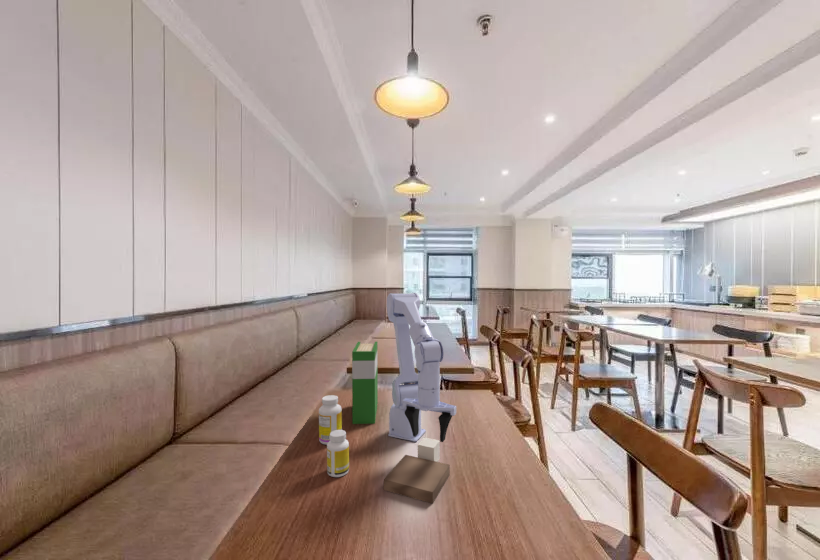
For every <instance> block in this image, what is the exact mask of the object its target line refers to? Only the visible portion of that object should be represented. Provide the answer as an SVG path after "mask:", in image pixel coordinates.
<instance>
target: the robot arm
mask: <svg viewBox="0 0 820 560" xmlns="http://www.w3.org/2000/svg"><path fill="white" fill-rule="evenodd" d="M420 307H421V299H420V296H419V294H418V293H416V292H412V293H411V292H410V293H404V292H403V293H391V292H390V293H388V295H387V298H386V313H387V317H388V321H390V322H391V323H393V328H394V333H395V334H394V336H395V343H396V353H397V359H398V360H397V362H398V368H399V375H397V376H396V377H395V378H394V379H393V380H392V382H391V383H392V384H391V398H392V402H393V404H392V405H391V407H390V410H389V417H388V419H389V420H388V421H389V422H388V430H389V431H388V435H387V436H388V437H391V438H396V439H402V440H404V441H405V440H406V441H411V442H418V441H419V440H420V438H421V437H422V436H423V435H424V434H425V433H426V429H425V428H422V411H423V412H428V411H429V412H435V413H441V414H440V415H438V422H439V430H440V431H439V440H440V443H444V441H445V440H446V436H447V431H448V428H449V425H450V423H451V422H450V421H451V419H452V417H453V416H455V415H456V414H457V405H455V404H454V405H453V404H449V403H446V402H444V401H440V400H441V398H440V397H441V395H440V394H441V393H440V391H441V389H440V387H441V386H440V385H441V382H440V381H441V379H440V376H441V373H440V372H441V371H440V370H441V368H440V365H441V363H442V362H443V359H444V346H443V344H442V342H441V340H439V339H438V338H436V337H434V336H433V335H434V334H433V333H432V331H431V328H429V326H428V323H426V322H424V321H422V318H421V314H420V312H419V311H420V310H419V309H420ZM412 343H413V346H414V353H413V347H412ZM414 359H415V362H414ZM415 367H416V369H417V372H416V370H415Z"/></svg>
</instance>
